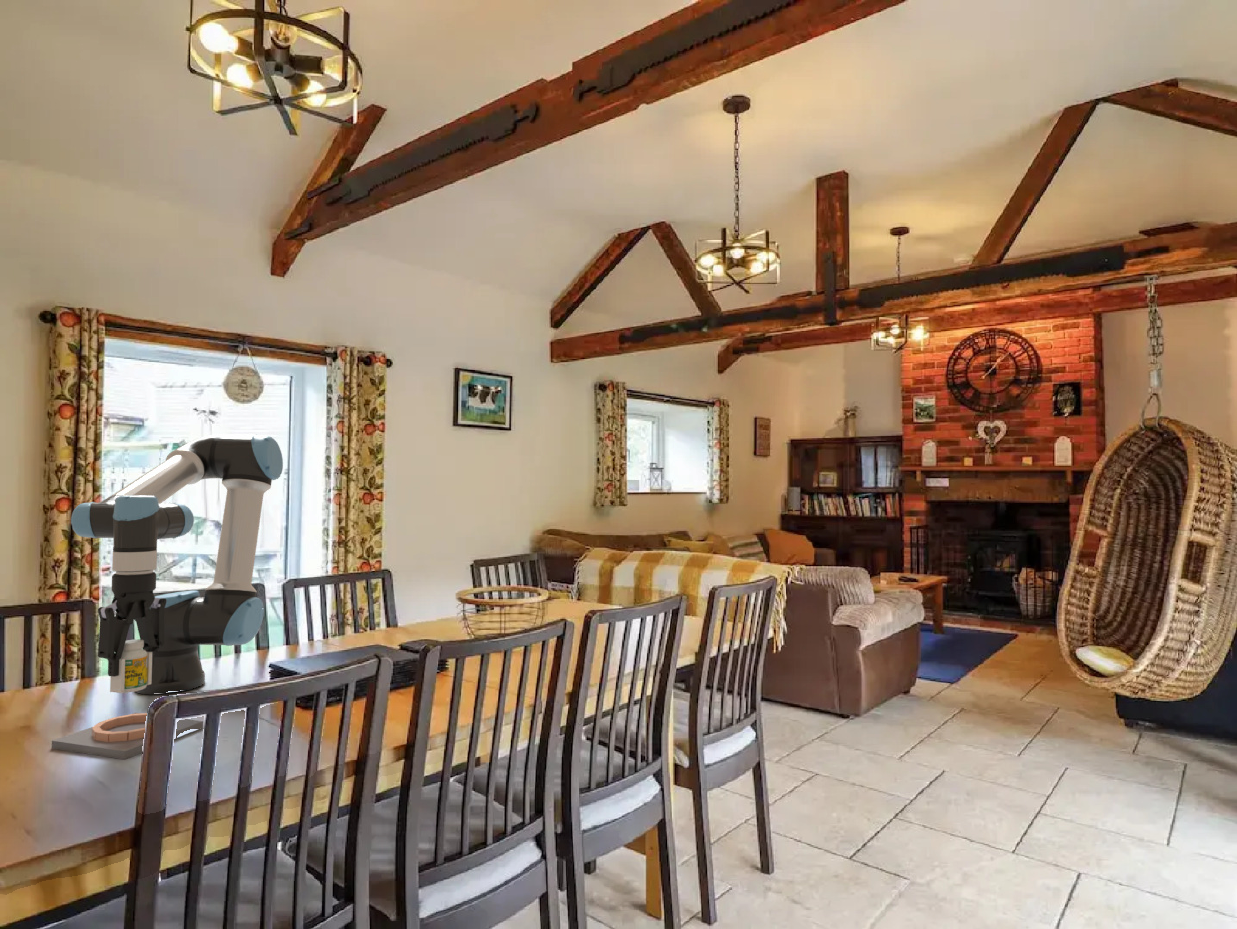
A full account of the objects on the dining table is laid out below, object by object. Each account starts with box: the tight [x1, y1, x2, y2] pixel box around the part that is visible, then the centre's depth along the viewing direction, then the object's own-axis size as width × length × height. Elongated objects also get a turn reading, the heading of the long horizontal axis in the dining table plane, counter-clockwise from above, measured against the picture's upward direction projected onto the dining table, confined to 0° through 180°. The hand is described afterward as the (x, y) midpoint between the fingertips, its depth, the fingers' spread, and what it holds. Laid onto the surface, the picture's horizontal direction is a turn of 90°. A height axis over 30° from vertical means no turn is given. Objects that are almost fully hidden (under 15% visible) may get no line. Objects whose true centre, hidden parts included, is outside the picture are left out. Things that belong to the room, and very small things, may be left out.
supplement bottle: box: [121, 638, 148, 693], centre depth 150 cm, size 5×5×10 cm
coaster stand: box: [51, 712, 204, 760], centre depth 150 cm, size 18×18×3 cm
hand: (131, 687), depth 150 cm, fingers closed on supplement bottle, 5 cm apart
